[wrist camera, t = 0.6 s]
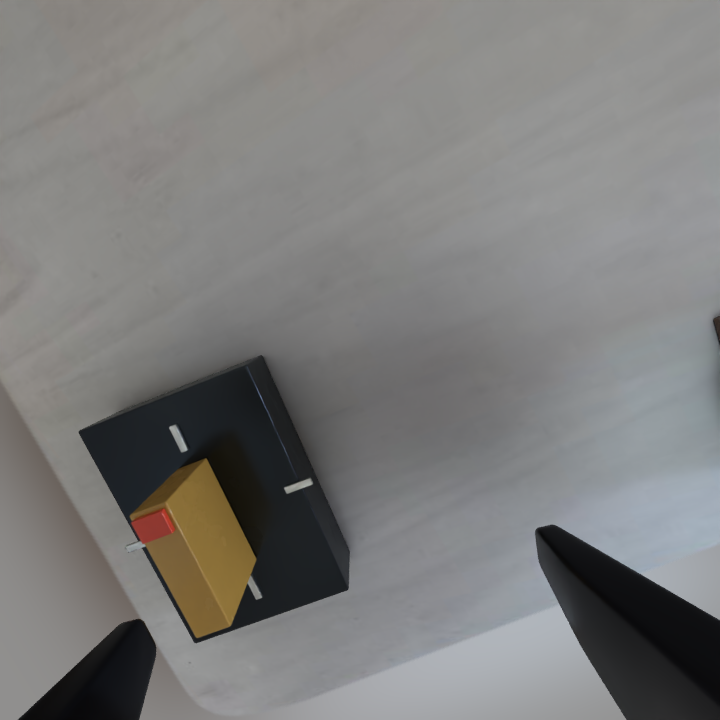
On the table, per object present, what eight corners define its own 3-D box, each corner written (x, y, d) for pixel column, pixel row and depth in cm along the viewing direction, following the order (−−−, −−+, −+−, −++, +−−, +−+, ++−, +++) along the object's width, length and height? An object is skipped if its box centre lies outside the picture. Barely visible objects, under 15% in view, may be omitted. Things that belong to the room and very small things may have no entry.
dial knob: (257, 559, 19) (229, 632, 15) (228, 569, 19) (193, 644, 15) (206, 457, 18) (162, 505, 14) (177, 468, 18) (124, 519, 14)
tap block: (359, 548, 23) (359, 589, 20) (206, 603, 23) (183, 651, 20) (272, 350, 21) (256, 360, 17) (106, 416, 21) (63, 437, 18)
